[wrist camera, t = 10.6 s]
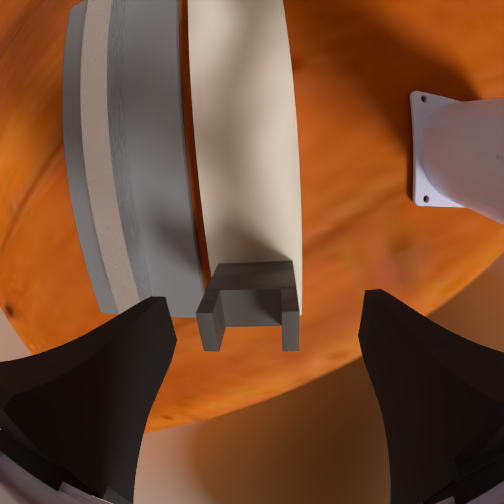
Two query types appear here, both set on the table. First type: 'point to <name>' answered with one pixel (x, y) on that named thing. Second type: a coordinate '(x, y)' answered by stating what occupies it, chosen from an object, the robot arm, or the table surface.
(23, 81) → the table surface
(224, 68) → the hook stand
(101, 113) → the rail
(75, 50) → the mat
